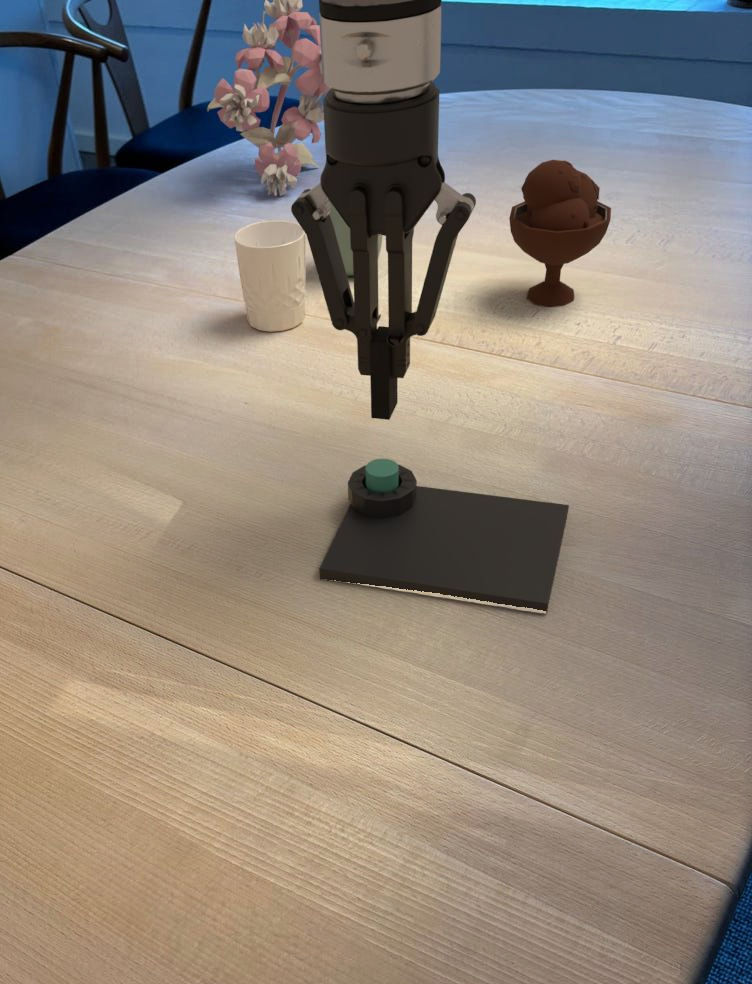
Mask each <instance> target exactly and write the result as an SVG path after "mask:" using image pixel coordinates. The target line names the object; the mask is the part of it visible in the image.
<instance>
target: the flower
mask: <svg viewBox="0 0 752 984" xmlns="http://www.w3.org/2000/svg"><path fill="white" fill-rule="evenodd" d="M263 6H264V10H263V12H262V21H261V23H260V22H258V21H257V24H256V23H255V22H252V24H253V26H252V27H251V28H250V29H248V27H247V25H246V23H244V25H243V31H242V39H243V41H244V42H245V44H246V45H248V46H249V47H247V48H244V49H241V50H239V51H236V55H235V58H234V60H235V65H236V69H237V70H235V71H234V78H233V87H232V86H231V84H230V83H228V81H227V80H226V79H224V78H223V77H222V78H221V79H220V80H219V82H218V83H217V85H216V87H215V89H214V92H213V93H214V98H213V99H212V100H211V101H210V102H209V104H208V105H207V108H206V111H207V112H209V111H210V110H214V109H217V108H221V109H219V110H218V111H217V112H216V113H217V115H218V118H219V120H220V121H221V122H222V123H223V124H224V125H225V126H226V127H228V128H229V129H233V128H235V130H236V131H237V132H241V133H240V136H242V137H243V138H244V139H245V140H247V141H248V142H249V143H251V144H252V145H254V146H255V147H256V148H258V155H257V156H258V157H254V169H255V171H257V173H258V174H259V176H261V177H260V185H263V184H265V183H266V189H265V191H267V196H270V195H273V196H275V197H277V196H278V195H277V191H278V193H279V197H282V196H285V195H286V194H287V191H288V190H287V186H288V185H289V186H290V187H291V188H292V189H293V190H294V189H295V187H296V185H297V183H298V178H296V177H297V176H298V175H299V174H300V173H301V171H302V167H307V166H309V165H312V166H314V167H316V168H317V169H319V165H318V164H317V162H316V161H315V159H314V158H313V155H312V153H311V151H310V150H309V148H308V147H307V146H306V145H305V144H303V143H302V142H303V141H304V140H306V139H308V138H309V137H310V136H311V134H312V139H311V142H310V144H317V143H319V142H320V139H321V137H322V131H321V129H320V127H319V125H318V123H319V124H320V123H321V122H324V107H323V103H322V102H323V99H324V98H322V97H323V96H324V95H326V94H327V93H328V91H329V90H331V89H330V88H329V87H327V86H326V85H325V84H324V83H323V76H322V58H321V40H320V24H319V25H318V23H317V20H316V19H314V17H313V16H311V15H310V13H309V11H308V12H307V11H301V10H302V9H303V7H304V6H303V0H272V2H270V1H268V0H265V1H264V4H263ZM266 15H268V16H269V17H270V18H271V19H274V21H273V22H272V23H270V24H269V26H268V27H267V26H266V24H265V16H266ZM301 30H302V31H303V32H307V34H309V35H310V37H313V39H314V41H315V43H314V42H313V41H312V40H310V39H308V38H307V37H306V38H300V35H301ZM299 38H300V39H299ZM277 41H281V42H282V44H283V45H284V46H285V47H287V48H288V49H291V51H290V52H291V56H284V55H283V56H282V55H281V54H279V53H278V52H277V51H276V50H275V49H276V44H277ZM265 58H266V61H267V63H268V65H269V66H268V65H265V66H264V68H263V70H262V72H261V73H260V69H261V68H262V66H263V64H264V63H265ZM244 62H245V64H246V67H247V69H245V68H241V67H242V66H243V63H244ZM294 63H296V66H295V67H294ZM303 67H304V68H308V69H307V70H306V71H305V72H304V73H302V74H301V75H300V76H299V77H298V78H297V79H295V80H294V84H295V87H296V89H297V90H298V91H299V92H300V93H301V95H300V96H299V105H298V107H297V106H292V107H290V108H287V110H285V111H284V113H283V114H282V117H281V119H280V121H281V123H282V124H281V125H280V126H279V128H278V130H277V132H276V126H277V123H278V120H279V117H280V114H281V111H282V107H283V104H284V100H285V97H286V94H287V91H288V88H289V87H290V86H291V82H292V81H293V78H294V75H295V74H296V72H297V70H299V69H301V68H303ZM254 72H255V74H254ZM277 84H278V85H280V87H279V91H278V94H277V98H276V100H275V101H276V103H275V105H274V109H273V111H272V116H271V117H272V118H271V122H270V128H266V127H264V126H261V127H260V124H261V118H259V117H258V116H257V114H256V113H262V112H263V113H264V112H266V111H267V110H268V109H269V108H270V103H271V102H270V93H269V88H272V87H273V86H275V85H277ZM321 98H322V99H321ZM320 99H321V100H320ZM321 103H322V104H321ZM320 104H321V105H320ZM275 132H276V134H275ZM296 140H298V141H300V142H295V141H296ZM294 142H295V143H294ZM276 149H277V152H276V151H275V150H276Z"/></svg>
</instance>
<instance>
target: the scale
mask: <svg viewBox="0 0 752 984" xmlns="http://www.w3.org/2000/svg"><path fill="white" fill-rule="evenodd" d="M366 465H367V464H365V465H363V466H361V467H359V468H357V469H356V470H354V471H353V472H352V473H351V475H350V477H349V479H348V481H347V496H348V497H347V498H348V499H347V500H348V501H349V506H348V507H347V510H346V512H345V513H344V515H343V518H342V520H341V522H340V524H339V527H338V528H337V531H336V532H335V534H334V537H333V539H332V541H331V543H330V546H329V548H328V549H327V552H326V554H325V556H324V558H323V559H322V562H321V564H320V566H319V580H322V579H327V580H326V581H329V580H333V581H332V582H335V581H334V580H336V581H341V582H350V583H356V584H357V583H360V584H369V585H375V586H386V587H392V588H399V589H406V590H407V589H408V590H413V591H414V590H417V591H421V592H422V591H424V592H432V593H440V594H443V595H451V596H454V597H455V596H457V597H463V598H467V599H469V598H470V599H476V600H480V601H487V602H488V601H489V602H493V603H497V604H505V605H512V606H516V607H525V608H526V607H527V608H533V609H537V610H543V611H547V612H548V610H549V606H548V604H549V605H550V601H551V596H552V591H551V590H553V587H552V586H554V582H555V577H556V573H555V572H557V568H556V567H558V563H557V562H559V558H560V554H559V553H561V549H560V548H562V544H563V540H562V539H564V535H563V534H565V530H566V526H567V525H566V524H567V521H566V520H568V516H567V515H569V510H570V504H565V503H564V504H563V503H556V502H549V501H541V500H532V499H525V498H524V499H523V498H517V497H510V496H509V497H508V496H502V495H501V496H500V495H494V494H493V495H492V494H485V493H476V492H469V491H460V490H452V489H443V488H437V487H436V488H435V487H429V486H420V485H417V484H418V480H417V478H416V476H415V474H414V472H413V471H412V470H410V469H409V468H407V467H405V466H403V465H401V464H398V466H399V484H398V487H397V488H396V489H395V490H393V491H389V492H383V493H381V492H373V491H370V490H369V489H367V487H366V470H365V468H366ZM564 529H565V530H564ZM558 557H559V558H558ZM554 576H555V577H554ZM553 581H554V582H553ZM341 582H340V583H341ZM550 595H551V596H550ZM549 600H550V601H549ZM547 609H548V610H547Z"/></svg>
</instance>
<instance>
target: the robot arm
mask: <svg viewBox="0 0 752 984" xmlns="http://www.w3.org/2000/svg"><path fill="white" fill-rule="evenodd" d="M318 8H319V13H318V20H319V26H320V40H321V58H322V76H323V83H324V84H325V85H326V86H327V87H329V88H330V89H329V91H328V92H327V93H326V94H325V96H324V97H323V98H322V99H323V100H322V104H323V105H322V106H323V107H324V109H323V112H324V120H323V124H324V125H323V126H324V127H323V128H324V148H325V150H324V151H325V164H324V167H323V170H322V172H321V174H320V180H319V183H318V184H316V185H315V186H314V187H313V188H306V189H304V190H303V191H302V192H301V194H300V195H299V196H298V197H297V198H296V199H295V201H294V202H293V203H292V204H291V207H290V211H291V213H292V215H293V217H294V219H295V220H296V221H297V224H300V226H301V227H302V229H303V230H304V232H305V236H306V238H307V241H308V245H309V249H310V251H311V256H312V259H313V262H314V266H315V269H316V272H317V276H318V280H319V283H320V286H321V290H322V293H323V298H324V300H325V304H326V307H327V311H328V314H329V317H330V318H329V319H330V321H331V325H332V326H333V328H334V329H335V330H337V331H343V330H346V331H348V332H351V333H352V334H353V335H354V336H355V338H356V345H357V346H356V347H357V348H356V349H357V370H358V372H359V374H360V376H368V377H370V378H369V379H370V415H371V417H370V418H371V419H376V420H388V421H390V419H391V417H392V416H393V413H394V412H395V409H396V407H397V405H398V402H399V401H398V379H404V378H405V376H406V373H407V372H408V370H409V367H410V365H411V337H414V336H417V337H418V336H419V337H423V336H425V335H427V333H428V332H429V330H430V328H431V326H432V323H433V321H434V319H435V317H436V314H437V310H438V307H439V304H440V300H441V297H442V293H443V290H444V285H445V283H446V278H447V275H448V272H449V268H450V264H451V261H452V259H453V258H452V257H453V254H454V251H455V247H456V244H457V239H458V236H459V233H460V232H461V231H462V229H463V228H464V227H465V225H466V224H467V222H468V221H469V219H470V217H471V215H472V213H473V211H474V209H475V207H476V204H477V199H476V196H475V195H474V194H472V193H471V192H465V193H463V194H462V193H460V192H458V190H456V189H454V188H453V187H452V186H450V185H449V184H448V183H446V182H445V181H446V174H445V170H444V168H443V166H442V164H441V162H440V157H439V127H440V126H439V125H440V124H439V123H440V89H439V88H438V87H437V85H436V84H435V83H434V82H433V81H434V80H435V79H436V78H437V77H438V76H439V75H440V73H441V61H442V60H441V59H442V58H441V54H442V53H441V52H442V0H318ZM329 200H330V202H331V203H332V205H333V206H334V207H335V209H336V210H337V212H338V213H339V215H340V216H341V217H342V219H343V220H344V222H345V223H346V224H347V226H348V227H349V228H350V243H351V250H352V251H353V276H352V277H353V293H352V290H351V286H350V282H349V278H348V276H347V274H346V271H345V267H344V263H343V260H342V256H341V252H340V249H339V245H338V241H337V237H336V234H335V230H334V226H333V223H332V220H331V218H330V215H329V213H330V210H331V206H330V203H329ZM434 201H435V202H436V204H437V210H436V213H435V219H436V221H437V223H438V224H440V225H441V227H440V228H439V230H438V232H437V235H436V237H435V240H434V243H433V247H432V250H431V251H432V252H431V254H430V259H429V263H428V267H427V270H426V274H425V278H424V280H423V284H422V287H421V292H420V297H419V300H418V304H417V307H416V311H413V238H414V233H415V227H416V226H417V225H418V223H419V222H420V221H421V219H422V217H424V215H425V214H426V212H427V211H428V209H429V208H430V206H431V205H432V204H433V202H434ZM379 234H381V235H382V236H383V237H385V251H386V253H387V294H388V295H387V302H388V303H387V304H388V305H387V306H388V307H387V309H388V315H387V316H388V317H387V318H388V326H381V325H380V326H378V323H379V321H380V319H381V317H382V315H381V314H379V311H380V310H379V258H378V235H379Z"/></svg>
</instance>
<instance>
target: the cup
mask: <svg viewBox="0 0 752 984" xmlns="http://www.w3.org/2000/svg"><path fill="white" fill-rule="evenodd" d="M329 203H330V206H331V210H330V213H329V215H330V218H331V220H332V223H333V226H334V230H335V234H336V237H337V241H338V245H339V249H340V252H341V256H342V260H343V263H344V267H345V271H346V274H347V277H353V251H352V250H351V243H350V228H349V227H348V226H347V224H346V223H345V222H344V220H343V219H342V217H341V216H340V215H339V213H338V212H337V210H336V209H335V207H334V206H333V205H332V203H331V202H330V200H329ZM382 245H383V235H381V234H379V235H378V259H379V258H380V255H381V250H382Z"/></svg>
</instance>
